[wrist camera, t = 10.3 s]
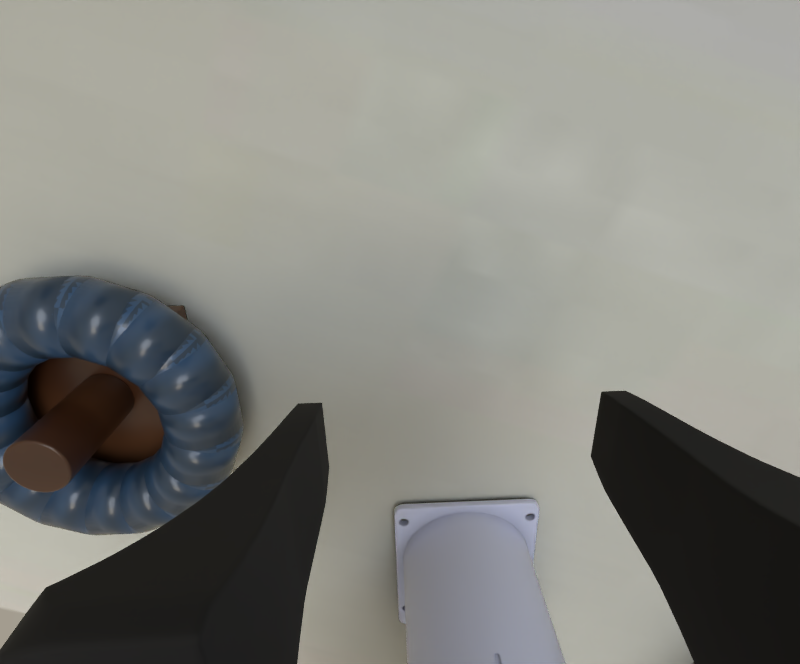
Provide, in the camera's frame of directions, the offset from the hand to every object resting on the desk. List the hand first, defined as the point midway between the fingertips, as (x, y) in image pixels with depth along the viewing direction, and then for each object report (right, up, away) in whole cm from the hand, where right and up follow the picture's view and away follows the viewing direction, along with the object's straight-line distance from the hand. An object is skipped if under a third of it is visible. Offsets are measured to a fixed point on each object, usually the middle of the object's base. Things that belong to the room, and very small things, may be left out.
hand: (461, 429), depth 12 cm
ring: (-15, -1, +8) cm, 17 cm away
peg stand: (-15, 0, +11) cm, 19 cm away
